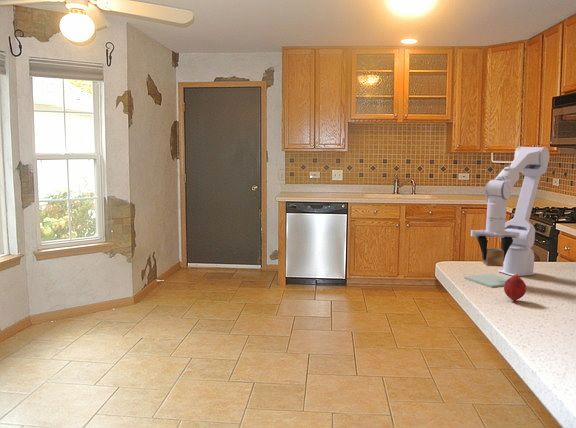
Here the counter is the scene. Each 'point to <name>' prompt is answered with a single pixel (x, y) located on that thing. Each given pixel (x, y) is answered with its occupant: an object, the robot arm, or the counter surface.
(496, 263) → the walnut cube
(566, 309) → the counter surface
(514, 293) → the onion
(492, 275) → the ceramic tile
